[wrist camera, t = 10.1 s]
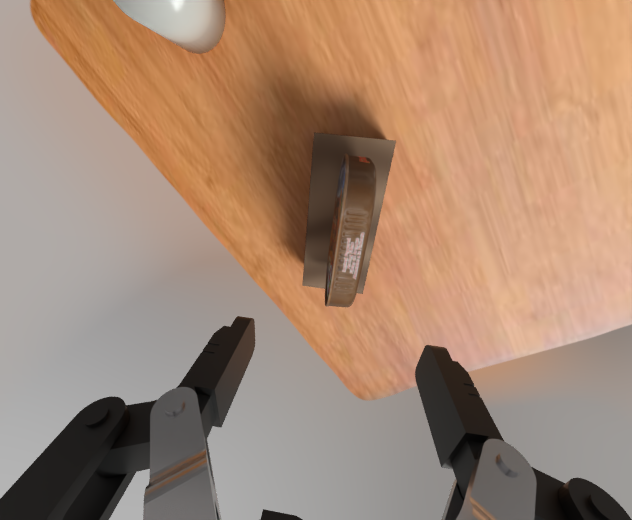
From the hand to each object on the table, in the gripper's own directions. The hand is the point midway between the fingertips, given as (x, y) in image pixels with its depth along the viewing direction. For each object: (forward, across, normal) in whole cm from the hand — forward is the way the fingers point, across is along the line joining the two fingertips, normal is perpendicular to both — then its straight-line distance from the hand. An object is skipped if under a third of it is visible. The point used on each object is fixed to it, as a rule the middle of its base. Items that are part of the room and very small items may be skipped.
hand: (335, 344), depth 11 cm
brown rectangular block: (+23, 0, 0) cm, 23 cm away
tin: (+18, -1, 0) cm, 18 cm away
